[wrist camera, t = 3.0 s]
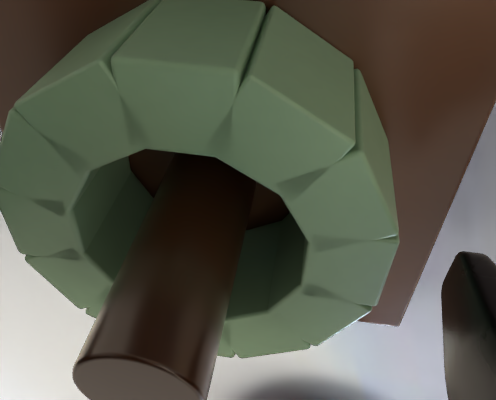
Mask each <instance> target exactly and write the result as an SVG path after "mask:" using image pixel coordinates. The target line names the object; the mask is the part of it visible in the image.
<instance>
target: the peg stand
mask: <svg viewBox="0 0 496 400" xmlns="http://www.w3.org/2000/svg"><path fill="white" fill-rule="evenodd" d="M146 1H148V0H0V128H1V131H2V134H3V131H4V127H5V124H6V120H7V117H8V113H9V111H10V110H11V109H12V108H13V107H14V104H15V102H16V101H17V100H18V99H19V98H21V97H22V96H23V95H24V94H25V93H26V92H27V91H28V90H29V89H30V88H31V87H32V86H33V85H35V84H36V83H37V82H38V81H39V80H40V79H41V78H42V77H43V76H44V75H45V74H46V73H47V72H49V71H50V70H51V69H52V68H53V67H54V66H55V65H56V64H57V63H58V62H59V61H60V60H61V59H63V58H64V57H65V56H66V55H67V54H68V53H69V52H70V51H71V50H72V49H73V48H74V47H75V46H77V45H78V44H79V43H80V42H81V41H82V40H83V39H84V38H85V37H86V36H87V35H89V34H90V33H92V32H94V31H96V30H97V29H99V28H101V27H103V26H104V25H106V24H108V23H110V22H111V21H113V20H115V19H117V18H118V17H120V16H122V15H124V14H125V13H127V12H129V11H131V10H132V9H134V8H136V7H138V6H139V5H141V4H143V3H145V2H146ZM247 1H259V2H263V3H264V4H265V7H266V14H267V13H268V11H269V10H270V8H271V7H272V6H277V7H278V8H280V9H281V10H282V11H284V12H285V13H287V14H288V15H289V16H291V17H292V18H294V19H295V20H297V21H298V22H299V23H301V24H302V25H304V26H305V27H306V28H308V29H309V30H311V31H312V32H313V33H315V34H316V35H318V36H319V37H320V38H322V39H323V40H325V41H326V42H328V43H329V44H330V45H332V46H333V47H335V48H336V49H337V50H339V51H340V52H342V53H343V54H344V55H346V56H347V57H349V58H350V59H351V60H352V61H353V63H354V69H359V70H360V71H361V74H362V76H363V79H364V81H365V84H366V86H367V89H368V91H369V94H370V96H371V99H372V101H373V104H374V106H375V109H376V111H377V114H378V116H379V119H380V121H381V124H382V126H383V129H384V131H385V134H386V136H387V139H388V144H389V152H390V160H391V169H392V177H393V185H394V194H395V202H396V210H397V219H398V227H399V232H398V233H399V245H398V248H397V251H396V254H395V256H394V259H393V262H392V265H391V268H390V270H389V273H388V276H387V279H386V282H385V284H384V287H383V290H382V293H381V296H380V299H379V301H378V304H377V305H376V306H372V310H371V312H370V313H368V314H367V315H365V316H363V317H362V318H360V319H359V320H357V321H361V322H367V323H374V324H381V325H387V326H394V327H398V326H399V325H400V323H401V320H402V318H403V316H404V314H405V311H406V309H407V307H408V304H409V302H410V300H411V297H412V295H413V293H414V290H415V288H416V286H417V283H418V281H419V279H420V276H421V274H422V272H423V269H424V267H425V265H426V262H427V260H428V258H429V255H430V253H431V251H432V248H433V246H434V244H435V241H436V239H437V237H438V234H439V232H440V230H441V227H442V225H443V223H444V220H445V218H446V216H447V213H448V211H449V209H450V206H451V204H452V202H453V199H454V197H455V195H456V192H457V190H458V188H459V185H460V183H461V181H462V178H463V176H464V174H465V171H466V169H467V167H468V164H469V162H470V160H471V157H472V155H473V153H474V150H475V148H476V146H477V143H478V141H479V139H480V136H481V134H482V132H483V129H484V127H485V125H486V122H487V120H488V118H489V115H490V113H491V111H492V108H493V106H494V104H495V101H496V0H247ZM128 157H129V163H130V169H131V171H132V172H133V174H134V175H135V176H136V177H137V179H138V180H139V181H140V182H141V184H142V185H143V186H144V187H145V189H146V190H147V191H148V192H149V193H150V195H151V196H152V197H153V198H154V199H153V201H152V203H151V205H150V207H149V209H148V211H147V213H146V215H145V218H144V220H143V222H142V224H141V226H140V228H139V230H138V232H137V234H136V236H135V239H134V241H133V243H132V245H131V247H130V249H129V251H128V253H127V255H126V257H125V259H124V262H123V264H122V266H121V268H120V270H119V272H118V274H117V276H116V278H115V280H114V282H113V285H112V287H111V289H110V291H109V293H108V295H107V297H106V299H105V301H104V303H103V306H102V308H101V310H100V312H99V314H98V316H97V318H96V320H95V322H94V324H93V326H92V329H91V331H90V333H89V335H88V337H87V339H86V341H85V343H84V345H83V347H82V349H81V352H80V354H79V356H78V358H77V360H76V362H75V364H74V366H73V380H74V383H75V384H76V386H77V387H78V389H79V390H80V391H81V392H82V393H83V394H84V395H85V396H86V397H87V398H89V399H90V400H207V397H208V392H209V388H210V384H211V379H212V375H213V371H214V366H215V362H216V358H217V353H218V349H219V345H220V340H221V336H222V332H223V327H224V323H225V319H226V314H227V310H228V306H229V301H230V297H231V293H232V288H233V284H234V280H235V275H236V271H237V267H238V262H239V258H240V254H241V249H242V245H243V241H244V236H245V232H246V230H250V229H253V228H257V227H261V226H264V225H268V224H271V223H275V222H279V221H282V220H283V219H284V218H285V217H286V216H287V215H288V214H289V213H290V211H289V209H288V208H287V206H286V204H285V203H284V201H283V199H282V198H281V196H280V195H279V194H277V193H275V192H274V191H272V190H270V189H269V188H267V187H265V186H263V185H262V184H260V183H258V182H257V181H255V180H253V179H252V178H250V177H248V176H246V175H245V174H243V173H241V172H240V171H238V170H236V169H235V168H233V167H231V166H230V165H228V164H226V163H224V162H223V161H221V160H219V159H218V158H216V157H211V156H203V155H194V154H186V153H177V152H169V151H161V150H152V149H144V150H141V151H139V152H136V153H134V154H131V155H129V156H128Z"/></svg>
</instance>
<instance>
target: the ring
mask: <svg viewBox="0 0 496 400" xmlns="http://www.w3.org/2000/svg"><path fill="white" fill-rule="evenodd" d="M144 149H152V150H161V151H169V152H177V153H186V154H194V155H203V156H211V157H216V158H218V159H219V160H221V161H223V162H224V163H226V164H228V165H230V166H231V167H233V168H235V169H236V170H238V171H240V172H241V173H243V174H245V175H246V176H248V177H250V178H252V179H253V180H255V181H257V182H258V183H260V184H262V185H263V186H265V187H267V188H269V189H270V190H272V191H274V192H275V193H277V194H279V195H280V196H281V198H282V199H283V201H284V203H285V204H286V206H287V208H288V209H289V211H290V213H289V214H288V215H287V216H286V217H285V218H284V219H283V220H282V221H279V222H275V223H271V224H268V225H264V226H261V227H257V228H253V229H250V230H246V232H245V236H244V241H243V245H242V249H241V254H240V258H239V262H238V267H237V271H236V275H235V280H234V284H233V288H232V293H231V297H230V301H229V306H228V310H227V314H226V319H225V323H224V327H223V332H222V336H221V340H220V345H219V349H218V353H217V356H223V357H230V358H232V357H234V355H235V353H236V354H237V355H238V357H240V358H248V357H255V356H262V355H269V354H276V353H283V352H290V351H297V350H304V349H309V348H310V345H311V344H312V345H314V346H318V345H320V344H321V343H323V342H324V341H326V340H327V339H329V338H331V337H332V336H334V335H335V334H337V333H338V332H340V331H342V330H343V329H345V328H346V327H348V326H349V325H351V324H352V323H354V322H356V321H357V320H359V319H360V318H362V317H363V316H365V315H367V314H368V313H370V312H371V310H372V306H376V305H377V304H378V301H379V299H380V296H381V293H382V290H383V287H384V284H385V282H386V279H387V276H388V273H389V270H390V268H391V265H392V262H393V259H394V256H395V254H396V251H397V248H398V245H399V233H398V232H399V227H398V219H397V210H396V202H395V194H394V185H393V177H392V169H391V160H390V152H389V144H388V139H387V136H386V134H385V131H384V129H383V126H382V124H381V121H380V119H379V116H378V114H377V111H376V109H375V106H374V104H373V101H372V99H371V96H370V94H369V91H368V89H367V86H366V84H365V81H364V79H363V76H362V74H361V71H360V70H359V69H354V63H353V61H352V60H351V59H350V58H349V57H347V56H346V55H344V54H343V53H342V52H340V51H339V50H337V49H336V48H335V47H333V46H332V45H330V44H329V43H328V42H326V41H325V40H323V39H322V38H320V37H319V36H318V35H316V34H315V33H313V32H312V31H311V30H309V29H308V28H306V27H305V26H304V25H302V24H301V23H299V22H298V21H297V20H295V19H294V18H292V17H291V16H289V15H288V14H287V13H285V12H284V11H282V10H281V9H280V8H278V7H277V6H272V7H271V8H270V10H269V11H268V13H267V14H266V7H265V4H264V3H263V2H259V1H247V0H148V1H146V2H145V3H143V4H141V5H139V6H138V7H136V8H134V9H132V10H131V11H129V12H127V13H125V14H124V15H122V16H120V17H118V18H117V19H115V20H113V21H111V22H110V23H108V24H106V25H104V26H103V27H101V28H99V29H97V30H96V31H94V32H92V33H90V34H89V35H87V36H86V37H85V38H84V39H83V40H82V41H81V42H80V43H79V44H78V45H77V46H75V47H74V48H73V49H72V50H71V51H70V52H69V53H68V54H67V55H66V56H65V57H64V58H63V59H61V60H60V61H59V62H58V63H57V64H56V65H55V66H54V67H53V68H52V69H51V70H50V71H49V72H47V73H46V74H45V75H44V76H43V77H42V78H41V79H40V80H39V81H38V82H37V83H36V84H35V85H33V86H32V87H31V88H30V89H29V90H28V91H27V92H26V93H25V94H24V95H23V96H22V97H21V98H19V99H18V100H17V101H16V102H15V104H14V107H13V108H12V109H11V110H10V111H9V113H8V117H7V120H6V124H5V127H4V131H3V134H2V138H1V142H0V210H1V212H2V215H3V217H4V219H5V222H6V224H7V226H8V228H9V231H10V233H11V235H12V237H13V240H14V242H15V244H16V246H17V249H18V251H19V252H20V253H22V254H26V257H25V260H26V262H27V263H28V264H30V265H31V266H32V267H33V268H34V269H35V270H36V271H37V272H39V273H40V274H41V275H42V276H43V277H44V278H45V279H46V280H47V281H49V282H50V283H51V284H52V285H53V286H54V287H55V288H56V289H58V290H59V291H60V292H61V293H62V294H63V295H64V296H65V297H67V298H68V299H69V300H70V301H71V302H72V303H73V304H74V305H75V306H77V307H78V308H80V309H83V308H87V309H86V314H88V315H90V316H92V317H94V318H97V316H98V314H99V312H100V310H101V308H102V306H103V303H104V301H105V299H106V297H107V295H108V293H109V291H110V289H111V287H112V285H113V282H114V280H115V278H116V276H117V274H118V272H119V270H120V268H121V266H122V264H123V262H124V259H125V257H126V255H127V253H128V251H129V249H130V247H131V245H132V243H133V241H134V239H135V236H136V234H137V232H138V230H139V228H140V226H141V224H142V222H143V220H144V218H145V215H146V213H147V211H148V209H149V207H150V205H151V203H152V201H153V199H154V198H153V197H152V196H151V195H150V193H149V192H148V191H147V190H146V189H145V187H144V186H143V185H142V184H141V182H140V181H139V180H138V179H137V177H136V176H135V175H134V174H133V172H132V171H131V169H130V163H129V157H128V156H129V155H131V154H134V153H136V152H139V151H141V150H144Z"/></svg>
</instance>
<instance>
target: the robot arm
mask: <svg viewBox="0 0 496 400" xmlns="http://www.w3.org/2000/svg"><path fill="white" fill-rule="evenodd" d="M441 299H442V322H443V346H444V367H445V380H446V387H447V394H448V400H496V265H495V264H494V262H493V261H492V260H491V259H490V258H489V257H488V256H486V255H484V254H480V253H473V252H465V251H462V252H459V253H458V254H457V255H456V257H455V259H454V261H453V263H452V265H451V267H450V269H449V271H448V273H447V275H446V277H445V279H444V282H443V285H442V292H441Z"/></svg>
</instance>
